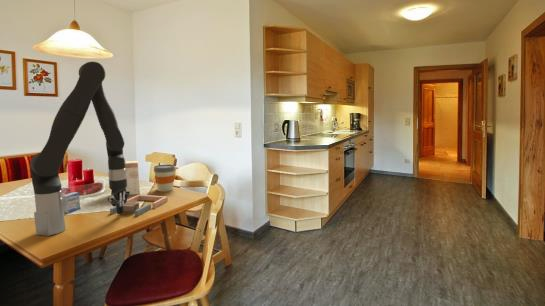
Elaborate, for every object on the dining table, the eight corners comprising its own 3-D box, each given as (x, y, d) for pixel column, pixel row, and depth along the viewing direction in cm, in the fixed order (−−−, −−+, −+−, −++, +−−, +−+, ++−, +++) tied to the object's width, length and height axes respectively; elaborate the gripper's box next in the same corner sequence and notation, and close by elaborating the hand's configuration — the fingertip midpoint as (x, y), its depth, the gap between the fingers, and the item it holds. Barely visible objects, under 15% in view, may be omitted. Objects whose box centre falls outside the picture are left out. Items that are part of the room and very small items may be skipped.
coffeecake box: (139, 191, 193) (137, 160, 190) (140, 194, 186) (138, 162, 183) (112, 194, 187) (110, 162, 184) (111, 197, 180) (109, 164, 177)
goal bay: (155, 207, 161) (155, 203, 161) (124, 205, 165) (123, 201, 165) (167, 200, 174) (167, 196, 173) (138, 199, 177) (138, 194, 177)
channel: (137, 215, 150) (137, 210, 149) (110, 213, 152) (109, 208, 152) (150, 208, 160) (150, 203, 160) (124, 206, 163) (124, 202, 163)
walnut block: (133, 214, 153) (132, 206, 152) (121, 213, 153) (120, 205, 153) (139, 210, 159) (138, 202, 158) (128, 209, 159) (127, 202, 159)
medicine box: (68, 213, 152) (66, 196, 151) (60, 213, 153) (58, 196, 152) (80, 208, 160) (79, 192, 159) (73, 208, 161) (71, 191, 160)
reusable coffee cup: (151, 189, 197) (149, 166, 195) (168, 186, 206) (167, 163, 204) (161, 193, 189) (160, 169, 187) (179, 189, 198) (178, 166, 196)
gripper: (115, 181, 138) (117, 219, 141) (133, 175, 151) (136, 209, 154) (100, 180, 140) (103, 217, 142) (120, 174, 153) (122, 208, 155)
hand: (120, 213), depth 148 cm, fingers closed
